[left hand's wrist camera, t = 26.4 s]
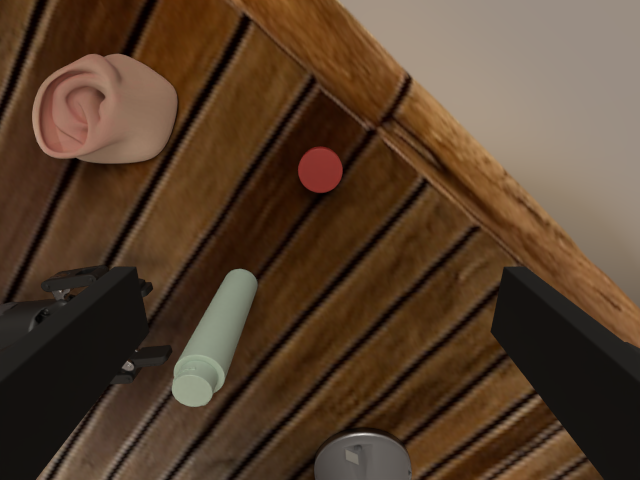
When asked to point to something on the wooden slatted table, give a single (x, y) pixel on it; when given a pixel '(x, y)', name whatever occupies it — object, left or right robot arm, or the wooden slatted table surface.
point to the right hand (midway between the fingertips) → (159, 322)
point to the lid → (320, 169)
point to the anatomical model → (104, 111)
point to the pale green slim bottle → (214, 341)
